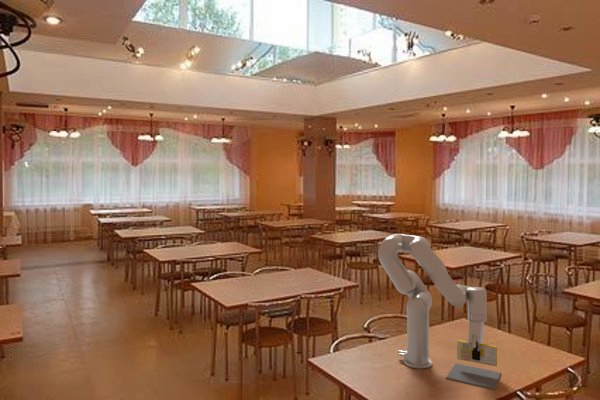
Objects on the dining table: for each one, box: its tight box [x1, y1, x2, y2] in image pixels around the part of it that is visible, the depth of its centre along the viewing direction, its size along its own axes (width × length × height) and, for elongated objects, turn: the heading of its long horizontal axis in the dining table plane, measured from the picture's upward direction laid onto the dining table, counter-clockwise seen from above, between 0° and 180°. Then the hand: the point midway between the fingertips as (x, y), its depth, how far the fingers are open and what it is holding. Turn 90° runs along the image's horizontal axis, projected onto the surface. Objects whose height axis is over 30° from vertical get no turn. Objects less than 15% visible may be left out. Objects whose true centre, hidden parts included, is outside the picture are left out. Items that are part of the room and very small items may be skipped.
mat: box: [445, 363, 502, 391], centre depth 198 cm, size 19×17×1 cm
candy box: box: [456, 339, 498, 367], centre depth 200 cm, size 16×2×8 cm, turn 59°
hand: (476, 358), depth 201 cm, fingers closed on candy box, 2 cm apart
